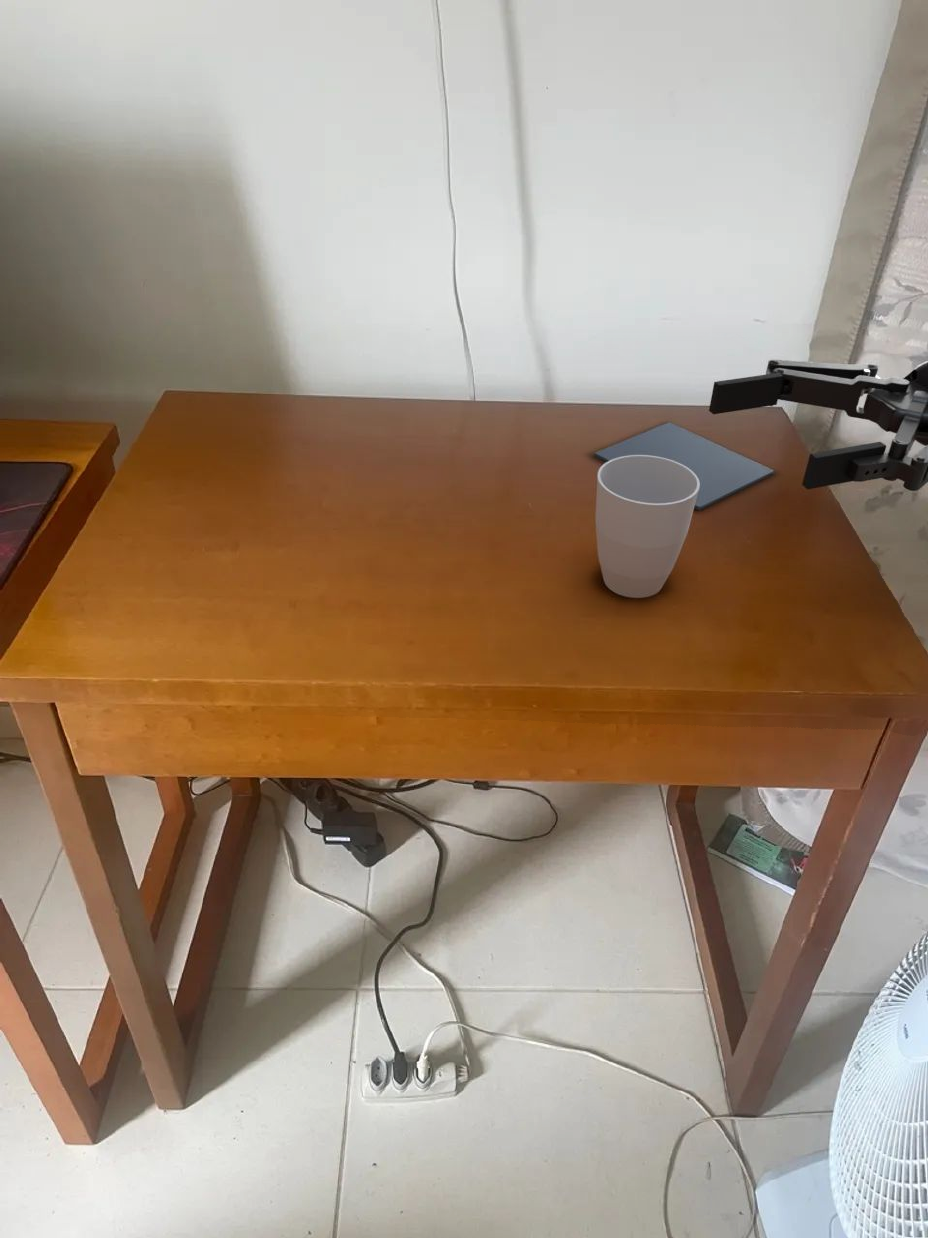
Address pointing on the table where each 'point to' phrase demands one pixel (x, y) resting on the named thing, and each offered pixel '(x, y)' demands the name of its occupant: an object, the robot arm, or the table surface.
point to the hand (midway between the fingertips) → (757, 432)
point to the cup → (642, 521)
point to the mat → (694, 460)
